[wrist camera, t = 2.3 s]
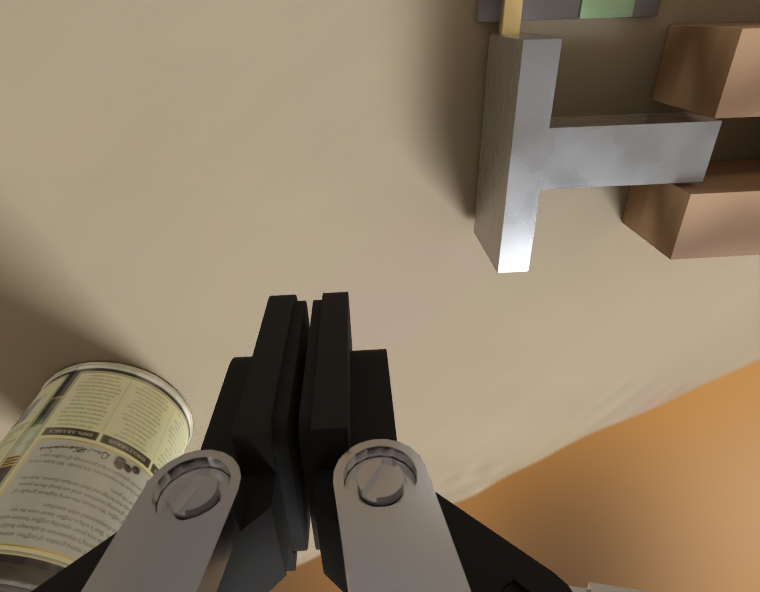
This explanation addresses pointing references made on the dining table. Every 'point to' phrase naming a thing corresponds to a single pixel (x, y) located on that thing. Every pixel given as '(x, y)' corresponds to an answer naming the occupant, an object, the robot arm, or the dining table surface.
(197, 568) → the robot arm
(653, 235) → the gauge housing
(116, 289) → the dining table surface
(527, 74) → the grey angular frame piece
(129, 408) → the coffee can
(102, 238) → the dining table surface
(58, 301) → the dining table surface
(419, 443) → the dining table surface
